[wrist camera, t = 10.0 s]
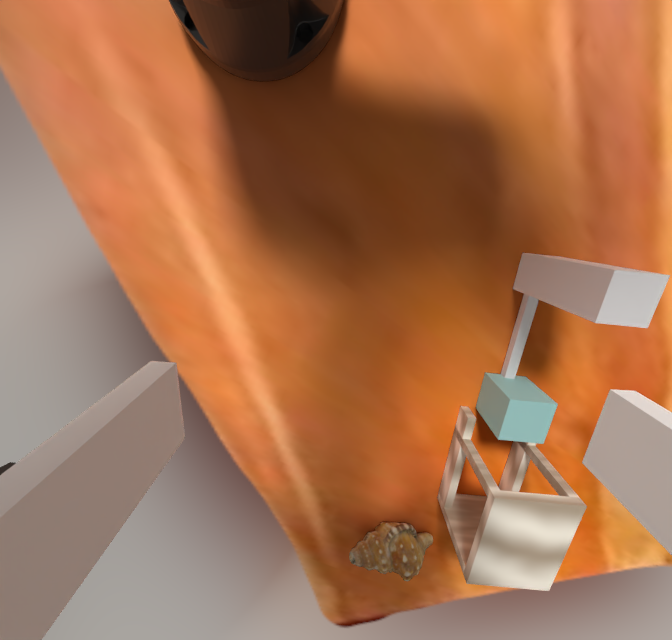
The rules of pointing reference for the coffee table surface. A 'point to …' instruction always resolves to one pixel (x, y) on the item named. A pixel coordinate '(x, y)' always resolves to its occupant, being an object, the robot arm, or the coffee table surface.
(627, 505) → the robot arm
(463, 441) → the shelf
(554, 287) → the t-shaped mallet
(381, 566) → the seashell
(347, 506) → the coffee table surface
